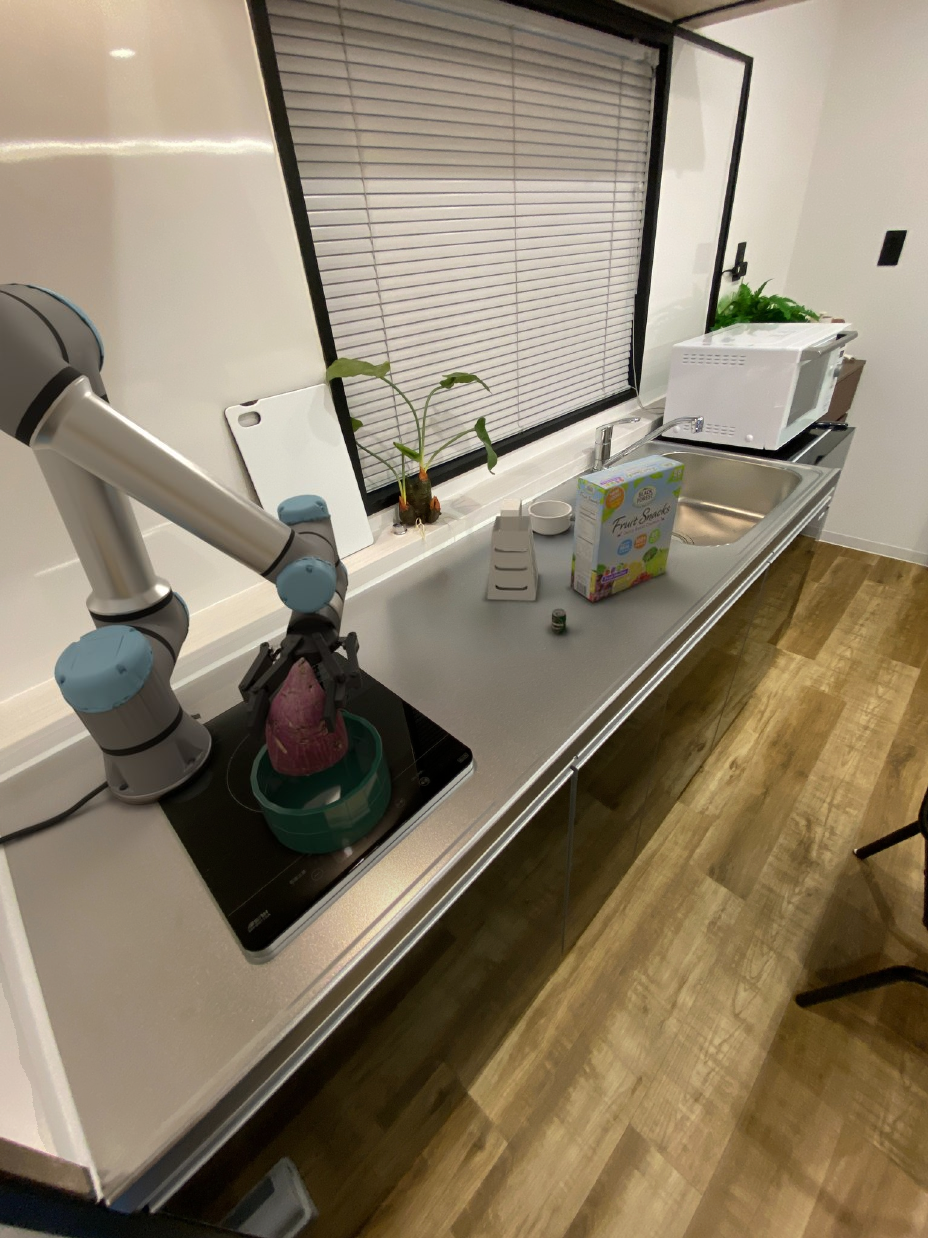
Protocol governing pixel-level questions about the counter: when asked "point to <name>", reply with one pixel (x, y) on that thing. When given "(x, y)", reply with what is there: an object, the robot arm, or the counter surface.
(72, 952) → the counter surface
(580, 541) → the snack box
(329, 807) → the pot
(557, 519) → the saucepan
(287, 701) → the vegetable
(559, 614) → the beer can
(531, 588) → the grater
